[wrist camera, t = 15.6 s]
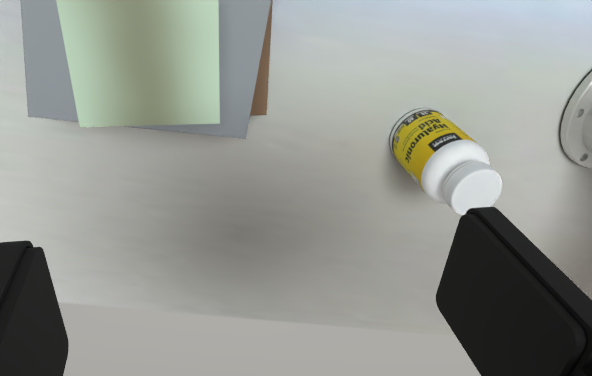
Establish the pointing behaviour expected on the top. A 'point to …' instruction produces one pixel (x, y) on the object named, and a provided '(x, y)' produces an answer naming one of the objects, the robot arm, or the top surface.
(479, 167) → the supplement bottle
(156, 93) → the sage cube
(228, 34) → the tower top block
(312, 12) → the top surface
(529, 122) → the top surface
